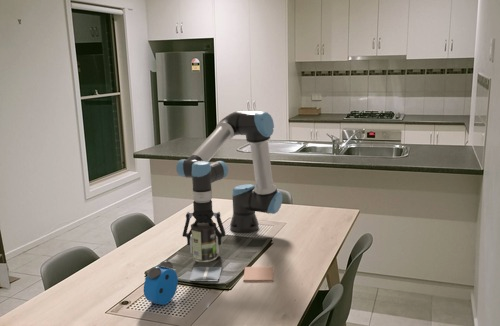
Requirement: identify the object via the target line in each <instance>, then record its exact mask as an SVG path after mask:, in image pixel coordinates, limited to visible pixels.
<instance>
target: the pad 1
mask: <svg viewBox="0 0 500 326" xmlns="http://www.w3.org/2000/svg"><path fill="white" fill-rule="evenodd" d="M222 269H223V268H222V266H193V268H192V270H191V273H190V277H189V279H188V281H189V280H217V279H219V280H220V278H221V273H222ZM219 277H220V278H219Z"/></svg>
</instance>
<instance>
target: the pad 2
mask: <svg viewBox="0 0 500 326" xmlns="http://www.w3.org/2000/svg"><path fill="white" fill-rule="evenodd" d="M243 282H245V283H246V282H249V283H251V282H252V283H255V282H256V283H257V282H259V283H261V282H264V283H265V282H267V283H270V282H271V283H272V282H274V266H245V267H244V273H243Z"/></svg>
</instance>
